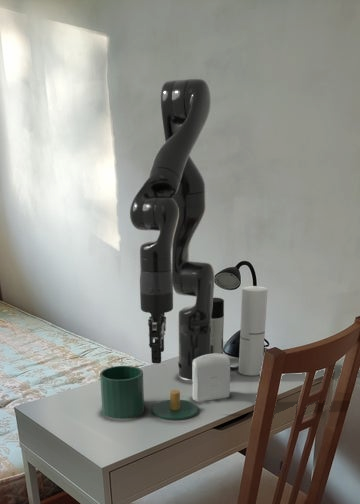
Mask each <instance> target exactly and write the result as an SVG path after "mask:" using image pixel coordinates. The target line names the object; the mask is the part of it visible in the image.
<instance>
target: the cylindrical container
mask: <svg viewBox="0 0 360 504" xmlns="http://www.w3.org/2000/svg"><path fill="white" fill-rule="evenodd" d="M267 303H268V287H266V286H258V285H249V286H243V287H242V288H241V307H240V332H239V336H240V337H239V353H238V366H239V369H238V373H240V374H242V375H244V376H258V375H261V374H260V371H261V366H262V361H263V360H264V353H265V351H264V350H265V335H266V320H267V306H268V305H267Z"/></svg>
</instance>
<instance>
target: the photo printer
mask: <svg viewBox="0 0 360 504" xmlns="http://www.w3.org/2000/svg"><path fill="white" fill-rule="evenodd" d="M230 367H231V359H230V356H228V355H227V354H224V353H223V354H217V353H215V354H206V355H203V356H200V357H197V358H196V359H194V360H193V363H192V382H191V383H192V400H193V401H196V402H206V401H213V400H214V401H215V400H219V399H225V398H229V397H230V394H231V393H230V389H231V370H230Z"/></svg>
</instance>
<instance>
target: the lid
mask: <svg viewBox="0 0 360 504" xmlns="http://www.w3.org/2000/svg"><path fill="white" fill-rule="evenodd" d="M169 393H170V394H169V395H170V396H169V399H167V400H162V401H159V402H157V403H155V404H154V405H153V406H152V414H153V415H154V416H155V417H157V418H158V419H162V420H166V421H183V420H187V419H191V418H194V417H195V416H197V414H198V412H199V407H198V405H197V404H196V403H194V402H193V401H190V400H185V399H181V391H180V390H177V389H172V390H170V392H169Z"/></svg>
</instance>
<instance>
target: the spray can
mask: <svg viewBox="0 0 360 504" xmlns="http://www.w3.org/2000/svg"><path fill="white" fill-rule="evenodd" d="M224 320H225V300H224V299H223V298H222V297H213V309H212V315H211V345H213V354H215V353H217V354H224V325H225V323H224Z"/></svg>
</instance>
